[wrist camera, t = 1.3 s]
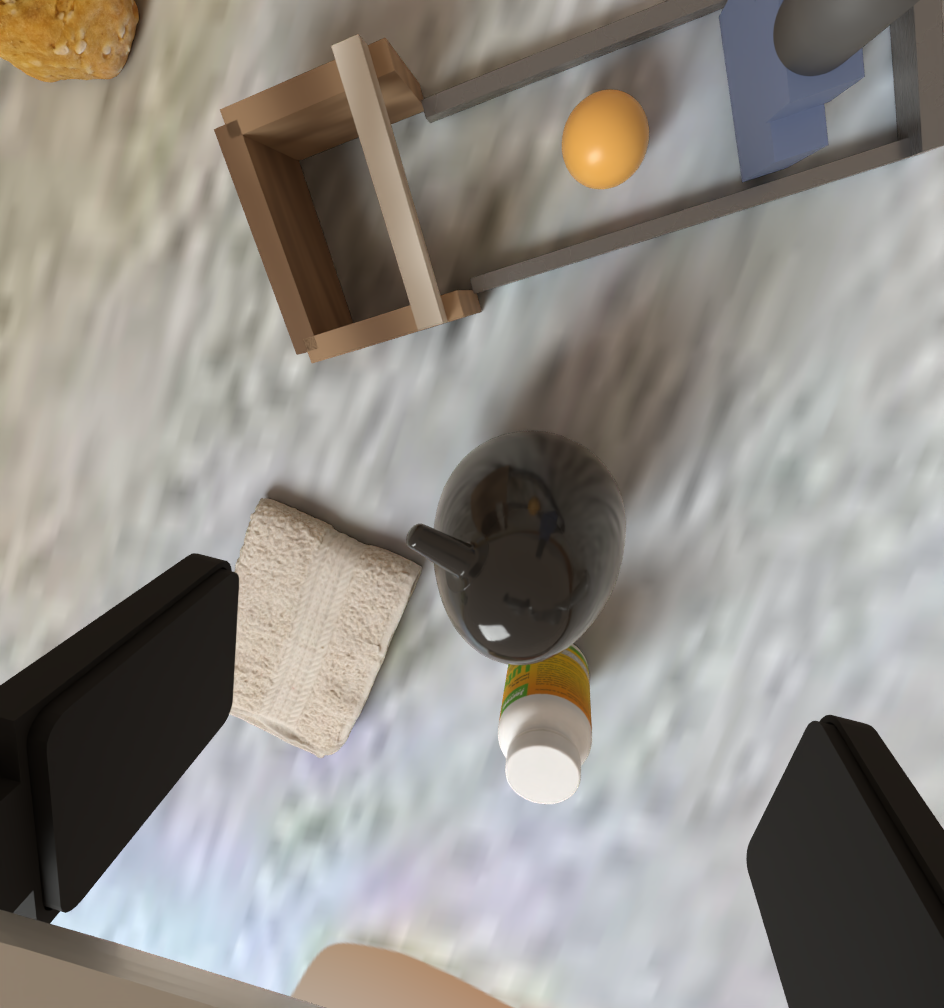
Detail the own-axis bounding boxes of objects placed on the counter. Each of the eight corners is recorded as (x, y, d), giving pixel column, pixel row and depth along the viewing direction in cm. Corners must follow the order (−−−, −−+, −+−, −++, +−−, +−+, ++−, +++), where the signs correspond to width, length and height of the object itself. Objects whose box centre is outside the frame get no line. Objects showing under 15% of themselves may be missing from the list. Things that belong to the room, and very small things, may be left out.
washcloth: (207, 685, 46) (183, 711, 44) (265, 485, 40) (241, 501, 37) (347, 747, 46) (333, 778, 44) (429, 558, 40) (418, 579, 37)
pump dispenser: (521, 378, 34) (487, 440, 20) (655, 492, 35) (713, 627, 21) (417, 503, 38) (327, 630, 24) (542, 603, 39) (527, 782, 25)
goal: (419, 83, 30) (376, 25, 24) (481, 311, 33) (459, 317, 27) (271, 144, 32) (192, 107, 26) (343, 354, 35) (290, 369, 29)
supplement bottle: (524, 621, 40) (511, 719, 31) (601, 649, 40) (610, 756, 30) (498, 683, 42) (478, 793, 33) (571, 711, 42) (571, 828, 32)
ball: (634, 90, 29) (644, 61, 25) (651, 179, 30) (662, 163, 26) (553, 120, 30) (551, 97, 26) (572, 205, 31) (572, 194, 27)
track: (908, -88, 25) (935, -118, 24) (923, 153, 28) (948, 143, 26) (425, 105, 30) (416, 94, 29) (476, 293, 33) (471, 293, 31)
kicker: (777, -6, 27) (951, -252, 14) (797, 164, 29) (965, 73, 16) (707, 21, 27) (816, -192, 15) (731, 186, 29) (845, 113, 17)
